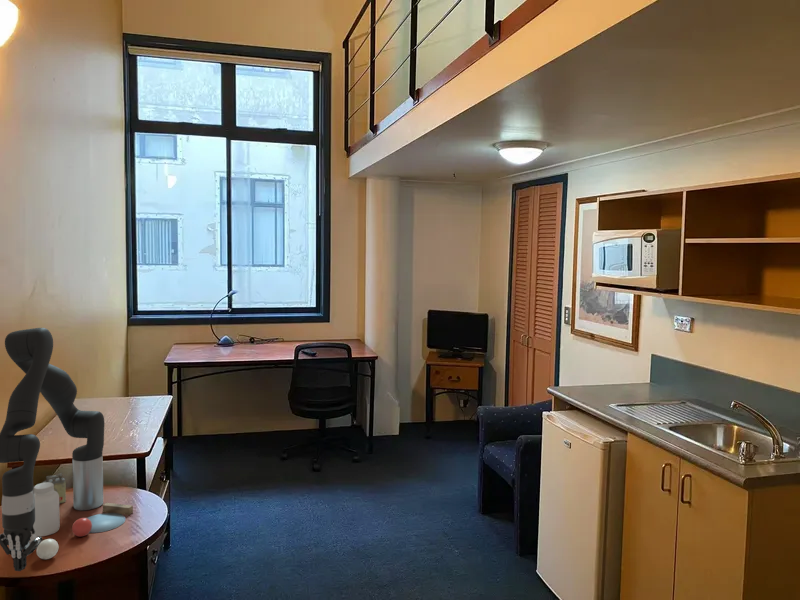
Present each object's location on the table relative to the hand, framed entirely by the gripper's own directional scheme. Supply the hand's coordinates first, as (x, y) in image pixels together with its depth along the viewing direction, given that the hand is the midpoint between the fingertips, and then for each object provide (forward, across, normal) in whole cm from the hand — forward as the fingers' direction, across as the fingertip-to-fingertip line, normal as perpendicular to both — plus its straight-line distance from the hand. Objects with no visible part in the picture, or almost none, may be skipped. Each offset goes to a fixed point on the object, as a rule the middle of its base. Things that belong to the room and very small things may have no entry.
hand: (20, 569), depth 162 cm
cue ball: (-1, 0, +10) cm, 10 cm away
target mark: (+2, 0, +33) cm, 33 cm away
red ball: (-1, 0, +24) cm, 24 cm away
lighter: (+2, -26, +42) cm, 50 cm away
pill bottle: (+2, -13, +24) cm, 27 cm away
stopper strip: (+2, 0, +41) cm, 41 cm away
